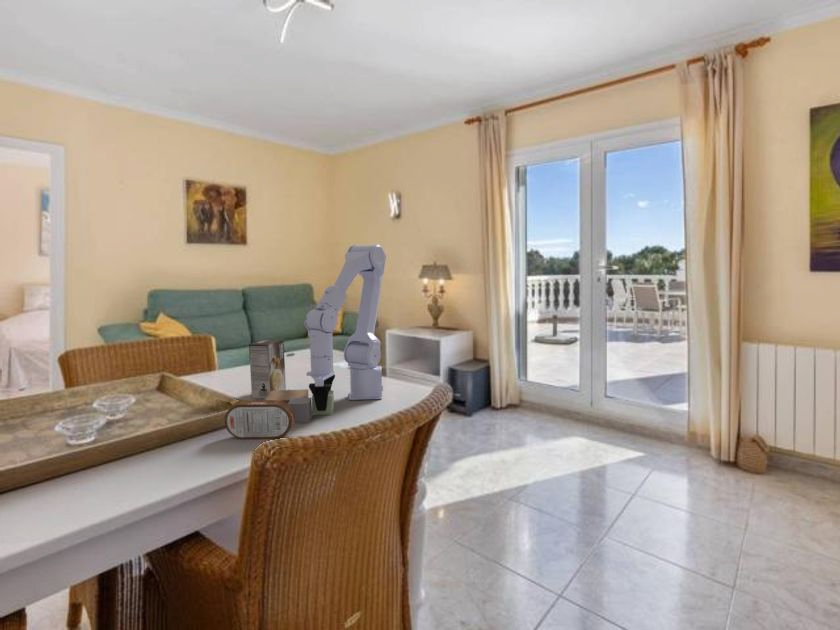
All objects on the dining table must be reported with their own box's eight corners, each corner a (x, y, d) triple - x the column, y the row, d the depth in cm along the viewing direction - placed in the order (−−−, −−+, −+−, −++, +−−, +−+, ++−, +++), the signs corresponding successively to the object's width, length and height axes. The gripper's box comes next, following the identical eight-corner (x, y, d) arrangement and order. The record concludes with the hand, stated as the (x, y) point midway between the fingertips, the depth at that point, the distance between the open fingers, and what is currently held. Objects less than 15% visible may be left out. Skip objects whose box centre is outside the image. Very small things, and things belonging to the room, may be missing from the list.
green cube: (333, 408, 124) (333, 390, 123) (332, 414, 119) (331, 395, 118) (315, 409, 123) (314, 391, 123) (312, 415, 118) (311, 396, 118)
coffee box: (267, 389, 142) (265, 338, 140) (286, 390, 141) (284, 339, 139) (250, 398, 133) (248, 343, 131) (271, 399, 132) (268, 344, 130)
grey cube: (311, 416, 117) (311, 397, 117) (309, 423, 112) (308, 403, 112) (291, 417, 117) (291, 398, 116) (288, 424, 112) (287, 404, 111)
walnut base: (308, 403, 129) (308, 389, 129) (304, 414, 120) (303, 399, 119) (272, 404, 128) (271, 390, 128) (264, 416, 118) (263, 401, 118)
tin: (295, 434, 105) (294, 398, 104) (292, 439, 102) (291, 402, 101) (229, 435, 104) (227, 399, 103) (223, 441, 101) (221, 403, 100)
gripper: (310, 350, 126) (311, 398, 127) (301, 361, 112) (303, 415, 113) (336, 350, 127) (337, 397, 128) (330, 360, 112) (332, 414, 114)
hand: (323, 406), depth 121 cm, fingers open, 6 cm apart
